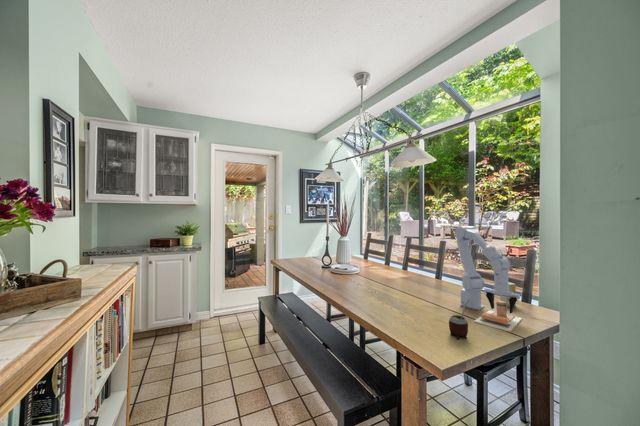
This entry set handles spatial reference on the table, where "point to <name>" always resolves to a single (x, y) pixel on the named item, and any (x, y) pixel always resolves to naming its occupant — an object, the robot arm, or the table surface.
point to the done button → (495, 318)
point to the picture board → (507, 327)
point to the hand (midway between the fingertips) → (501, 310)
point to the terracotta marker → (501, 309)
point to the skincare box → (511, 289)
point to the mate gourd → (458, 325)
